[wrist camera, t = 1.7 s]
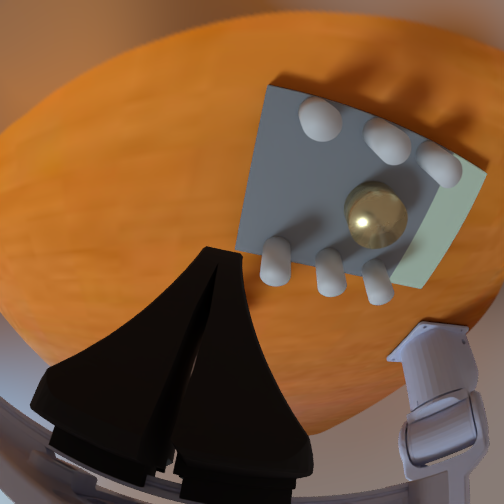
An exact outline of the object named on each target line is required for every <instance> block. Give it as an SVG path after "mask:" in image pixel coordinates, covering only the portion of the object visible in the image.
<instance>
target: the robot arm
mask: <svg viewBox="0 0 504 504" xmlns="http://www.w3.org/2000/svg"><path fill="white" fill-rule="evenodd" d="M242 259H243V256H242V255H241V254H240V253H236V252H231V251H226V250H221V249H217V248H212V247H207V246H206V247H205V248H203V249H202V251H201V252H200V253H199V254H198V256H197V257H196V258H195V259H194V261H193V262H192V263H191V264H190V265H189V266H188V267H187V268H186V270H185V271H184V272H183V273H182V274H181V275H180V276H179V277H178V278H177V279H176V280H175V281H174V282H173V283H172V284H171V285H170V286H169V287H168V288H167V289H166V290H165V291H164V292H163V293H162V294H161V295H159V296H158V297H157V298H156V299H155V300H154V301H153V302H152V303H151V304H149V305H148V306H147V307H146V308H145V309H144V310H142V311H141V312H140V313H139V314H137V315H136V316H135V317H134V318H132V319H131V320H130V321H128V322H127V323H125V324H124V325H123V326H121V327H120V328H118V329H117V330H116V331H114V332H113V333H111V334H110V335H108V336H107V337H105V338H103V339H102V340H100V341H98V342H97V343H95V344H93V345H92V346H90V347H88V348H87V349H85V350H83V351H82V352H80V353H78V354H76V355H74V356H72V357H70V358H68V359H66V360H64V361H62V362H60V363H58V364H56V365H53V366H51V367H49V368H48V369H47V370H46V372H45V374H44V375H43V377H42V378H41V380H40V382H39V385H38V387H37V389H36V392H35V394H34V396H33V399H32V401H31V403H30V407H31V409H32V410H33V411H35V412H36V413H37V414H39V415H40V416H41V417H43V418H44V419H46V420H47V421H49V422H50V423H52V424H53V425H55V427H54V430H53V432H51V431H49V430H47V429H46V428H44V427H43V426H41V425H40V424H38V423H36V422H35V421H33V420H32V419H30V418H29V417H27V416H26V415H24V414H23V413H22V412H20V411H19V410H17V409H16V408H15V407H13V406H12V405H10V404H9V403H8V402H6V400H4V399H3V398H2V397H0V489H1V490H2V492H4V494H5V495H6V496H7V497H8V498H9V499H10V500H11V501H12V502H13V503H14V504H151V503H148V502H144V501H141V500H138V499H134V498H131V497H128V496H125V495H122V494H119V493H117V492H114V491H111V490H108V489H106V488H103V487H101V486H98V485H96V483H97V478H96V477H95V476H93V475H91V474H89V473H88V472H86V471H84V470H82V469H81V468H78V467H76V466H74V465H72V464H69V463H67V462H65V461H63V460H60V459H58V458H56V456H55V453H57V454H59V455H61V456H62V457H64V458H66V459H68V460H70V461H71V462H73V463H75V464H77V465H79V466H81V467H83V468H85V469H87V470H89V471H92V472H94V473H96V474H98V475H100V476H103V477H105V478H108V479H110V480H112V481H114V482H117V483H120V484H122V485H125V486H128V487H131V488H133V489H136V490H139V491H142V492H145V493H148V494H151V495H155V496H158V497H162V498H165V499H169V500H173V501H177V502H181V503H186V504H470V485H469V475H470V473H471V472H472V471H473V470H474V469H475V467H476V466H477V465H478V464H479V463H480V461H481V460H482V459H483V458H484V456H485V455H486V453H487V452H488V447H489V444H490V443H489V436H488V433H489V430H488V423H487V418H486V413H485V408H484V404H483V401H482V397H481V395H480V393H479V392H477V391H475V388H476V385H477V382H478V369H477V365H476V363H475V359H474V356H473V353H472V350H471V348H470V345H469V342H468V340H467V337H466V333H467V332H468V331H469V327H468V326H459V325H450V324H441V323H433V322H425V321H422V322H420V323H419V324H418V325H417V326H416V327H415V328H414V329H413V330H412V332H411V333H410V334H409V335H408V336H407V337H406V338H405V339H404V340H403V341H402V342H401V343H400V344H399V346H398V347H397V348H396V349H395V350H394V351H393V352H392V353H391V354H390V355H389V356H388V357H387V361H393V362H402V365H403V370H404V375H405V380H406V385H407V391H408V396H409V402H410V409H411V413H409V414H407V421H406V422H404V424H403V425H402V428H401V430H400V432H399V439H398V440H399V441H398V444H399V452H400V456H401V459H402V461H403V466H404V473H405V476H406V479H408V480H409V481H410V482H406V483H402V484H398V485H394V486H389V487H385V488H382V489H377V490H372V491H366V492H360V493H352V494H343V495H332V496H318V497H292V489H295V488H296V479H297V478H302V477H307V476H310V475H311V474H312V473H313V466H314V463H313V453H312V448H311V444H310V439H309V436H308V435H307V433H306V432H305V430H304V429H303V427H302V426H301V425H300V423H299V421H298V420H297V418H296V417H295V415H294V414H293V412H292V410H291V409H290V407H289V405H288V403H287V402H286V400H285V398H284V396H283V395H282V393H281V391H280V389H279V387H278V385H277V383H276V381H275V379H274V377H273V375H272V373H271V371H270V368H269V366H268V364H267V362H266V359H265V357H264V354H263V352H262V349H261V347H260V344H259V341H258V339H257V336H256V333H255V330H254V326H253V323H252V319H251V316H250V312H249V308H248V304H247V299H246V294H245V289H244V282H243V272H242ZM196 356H197V357H196ZM195 359H196V361H195ZM194 362H195V364H194ZM193 365H194V367H193ZM192 369H193V370H192ZM191 372H192V374H191ZM190 376H191V377H190ZM471 445H473V446H472V447H471V449H469V450H468V451H466V452H464V453H462V454H460V455H457V456H455V457H453V458H450V459H447V460H445V461H442V462H439V463H436V464H433V465H431V466H427V465H425V464H426V463H429V462H432V461H434V460H437V459H440V458H443V457H445V456H448V455H450V454H453V453H455V452H458V451H460V450H462V449H465V448H467V447H469V446H471ZM175 449H176V450H177V457H176V461H175V466H174V471H173V474H176V475H179V477H180V478H182V479H183V481H182V484H179V483H175V482H171V481H167V480H164V479H160V478H156V477H155V473H156V471H159V472H162V473H164V472H165V469H166V466H168V465H170V464H172V463H173V459H174V453H175ZM54 452H55V453H54Z"/></svg>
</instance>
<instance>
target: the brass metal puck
mask: <svg viewBox="0 0 504 504" xmlns="http://www.w3.org/2000/svg"><path fill="white" fill-rule="evenodd" d="M344 216H345V219H346V222H347V225H348V227H349V230H350V233H351V236H352V238H353V239H354V240H355V242H356V243H358V244H359V245H361V246H362V247H365V248H369V249H380V248H384V247H387V246H389V245H391V244H393V243H394V242H396V241H397V240H398V239H399V238H400V237H401V235H402V234H403V232H404V231H405V229H406V226H407V222H408V214H407V210H406V208H405V206H404V204H403V203H402V201H401V200H400V199H399V197H398V196H397V195H396V193H395V192H394V191H393V190H392V188H391V187H389V186H388V185H387V184H385V183H382V182H379V181H368V182H364V183H362V184H360V185H358V186H356V187H355V188H354V189H353V190H352V191H351V192H350V193H349V194H348V196H347V198H346V200H345V203H344Z"/></svg>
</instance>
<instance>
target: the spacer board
mask: <svg viewBox="0 0 504 504" xmlns="http://www.w3.org/2000/svg"><path fill="white" fill-rule="evenodd" d="M486 175H487V173H485V172H484V171H483V170H482V169H480V168H479V167H477V166H476V165H474V164H472V163H471V162H469V161H467V160H466V159H464V158H462V157H461V156H459V155H457V154H456V153H454V152H452V151H450V150H448V149H447V148H445V147H443V146H441V145H439V144H437V143H435V142H433V141H431V140H430V139H428V138H426V137H423V136H421V135H419V134H417V133H415V132H413V131H411V130H409V129H407V128H404V127H402V126H400V125H397V124H395V123H393V122H390V121H388V120H386V119H383V118H381V117H378V116H375V115H373V114H370V113H368V112H365V111H362V110H359V109H356V108H354V107H351V106H348V105H345V104H342V103H338V102H335V101H332V100H329V99H325V98H322V97H318V96H315V95H311V94H307V93H304V92H300V91H295V90H291V89H287V88H283V87H278V86H273V85H268V86H267V90H266V95H265V100H264V104H263V109H262V114H261V119H260V123H259V128H258V133H257V138H256V143H255V148H254V153H253V158H252V163H251V168H250V173H249V178H248V183H247V188H246V193H245V198H244V204H243V209H242V214H241V219H240V225H239V230H238V235H237V241H236V246H235V250H239V251H243V252H248V253H253V254H258V255H262V261H261V269H260V278H261V280H262V281H263V282H264V283H266V284H267V285H270V286H282V285H284V284H286V283H287V282H288V281H289V280H290V277H291V262H295V263H300V264H305V265H310V266H314V267H316V274H317V284H318V291H319V292H320V293H321V294H322V295H324V296H327V297H334V296H338V295H340V294H341V293H343V292H344V291H345V289H346V287H347V283H346V278H345V274H344V273H348V274H352V275H357V276H362V277H363V280H364V284H365V287H366V291H367V295H368V299H369V302H370V303H371V304H373V305H382V304H385V303H387V302H389V301H390V300H391V299H392V298H393V296H394V290H393V287H392V284H391V283H395V284H400V285H405V286H410V287H414V288H419V289H422V287H423V286H424V284H425V283H426V282H427V280H428V279H429V277H430V276H431V274H432V273H433V271H434V270H435V268H436V267H437V265H438V264H439V262H440V261H441V259H442V258H443V256H444V254H445V253H446V251H447V250H448V248H449V246H450V245H451V243H452V241H453V240H454V238H455V236H456V235H457V233H458V231H459V229H460V228H461V226H462V224H463V222H464V220H465V218H466V217H467V215H468V213H469V211H470V209H471V207H472V205H473V203H474V201H475V199H476V197H477V195H478V193H479V191H480V189H481V186H482V184H483V182H484V180H485V177H486ZM368 181H379V182H382V183H385V184H387V185H388V186H389V187H391V188H392V190H393V191H394V192H395V193H396V195H397V196H398V197H399V199H400V200H401V201H402V203H403V204H404V206H405V208H406V210H407V214H408V222H407V226H406V229H405V231H404V232H403V234H402V235H401V237H400V238H399V239H398V240H397V241H396V242H394V243H393V244H391V245H389V246H387V247H384V248H380V249H369V248H365V247H362V246H361V245H359V244H358V243H356V242H355V240H354V239H353V238H352V236H351V233H350V230H349V227H348V225H347V222H346V219H345V216H344V203H345V200H346V198H347V196H348V194H349V193H350V192H351V191H352V190H353V189H354V188H355V187H356V186H358V185H360V184H362V183H364V182H368Z"/></svg>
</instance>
